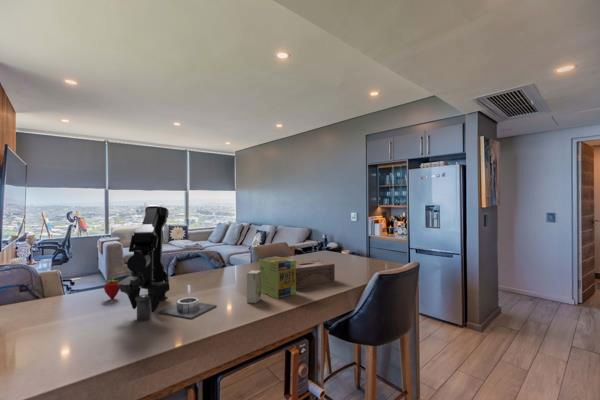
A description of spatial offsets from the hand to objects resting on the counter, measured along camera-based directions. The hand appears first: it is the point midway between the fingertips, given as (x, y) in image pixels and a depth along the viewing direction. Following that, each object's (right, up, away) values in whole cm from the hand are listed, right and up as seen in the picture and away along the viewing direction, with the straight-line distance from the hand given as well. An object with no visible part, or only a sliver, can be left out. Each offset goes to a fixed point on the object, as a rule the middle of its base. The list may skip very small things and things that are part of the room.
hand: (143, 310), depth 104 cm
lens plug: (0, -3, 0) cm, 3 cm away
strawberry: (-26, -4, +22) cm, 34 cm away
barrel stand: (+12, -3, +9) cm, 16 cm away
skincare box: (+36, -4, +20) cm, 41 cm away
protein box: (+45, -4, +31) cm, 55 cm away
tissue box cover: (+59, -5, +49) cm, 77 cm away
